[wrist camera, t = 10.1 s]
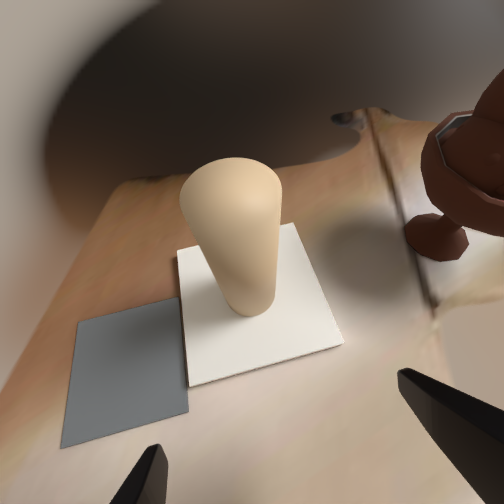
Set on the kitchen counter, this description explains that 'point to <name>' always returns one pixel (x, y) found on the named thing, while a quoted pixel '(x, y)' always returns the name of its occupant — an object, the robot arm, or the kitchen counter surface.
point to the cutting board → (255, 327)
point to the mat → (126, 372)
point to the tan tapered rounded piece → (237, 228)
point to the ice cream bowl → (463, 178)
